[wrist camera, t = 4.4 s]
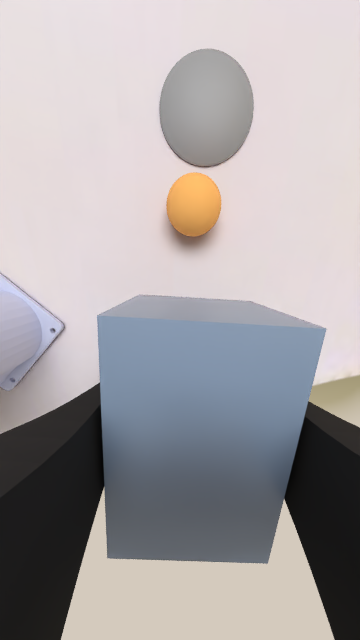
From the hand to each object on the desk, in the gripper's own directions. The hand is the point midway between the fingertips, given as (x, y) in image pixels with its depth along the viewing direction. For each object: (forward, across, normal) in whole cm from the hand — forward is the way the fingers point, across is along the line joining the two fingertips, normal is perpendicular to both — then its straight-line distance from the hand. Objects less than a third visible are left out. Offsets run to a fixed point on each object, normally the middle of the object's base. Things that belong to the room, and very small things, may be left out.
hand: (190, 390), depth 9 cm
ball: (+7, 0, -10) cm, 13 cm away
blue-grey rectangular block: (+2, 0, 0) cm, 2 cm away
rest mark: (+9, 0, -18) cm, 20 cm away
